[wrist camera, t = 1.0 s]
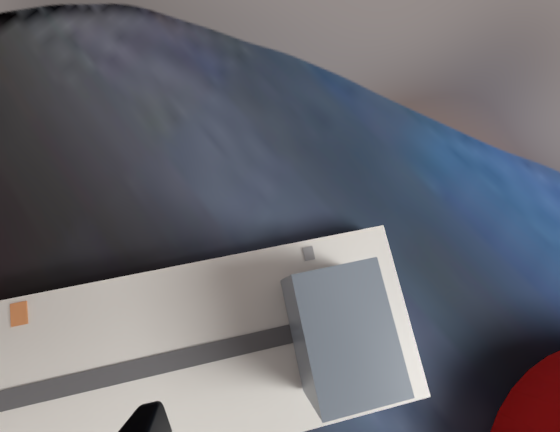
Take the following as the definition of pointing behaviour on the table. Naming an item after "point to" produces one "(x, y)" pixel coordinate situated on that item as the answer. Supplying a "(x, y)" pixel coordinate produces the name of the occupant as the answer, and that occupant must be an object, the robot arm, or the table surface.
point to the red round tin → (533, 400)
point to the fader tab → (345, 339)
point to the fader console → (179, 344)
